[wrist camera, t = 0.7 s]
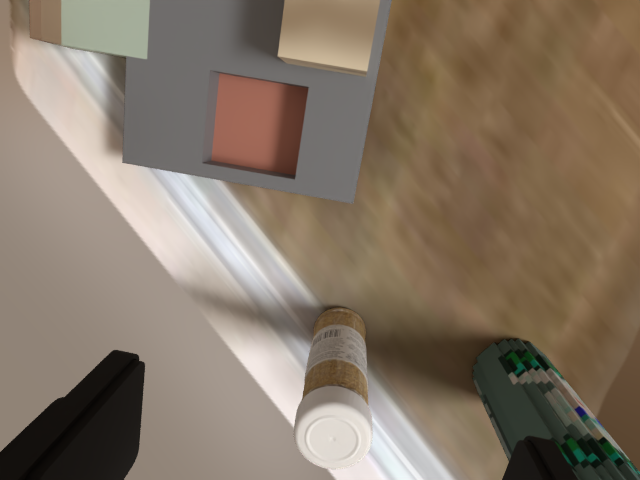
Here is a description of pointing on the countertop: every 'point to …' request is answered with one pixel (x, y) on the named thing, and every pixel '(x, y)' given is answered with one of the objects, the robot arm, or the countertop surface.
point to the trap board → (224, 91)
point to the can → (545, 411)
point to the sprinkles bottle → (335, 393)
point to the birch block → (328, 34)
